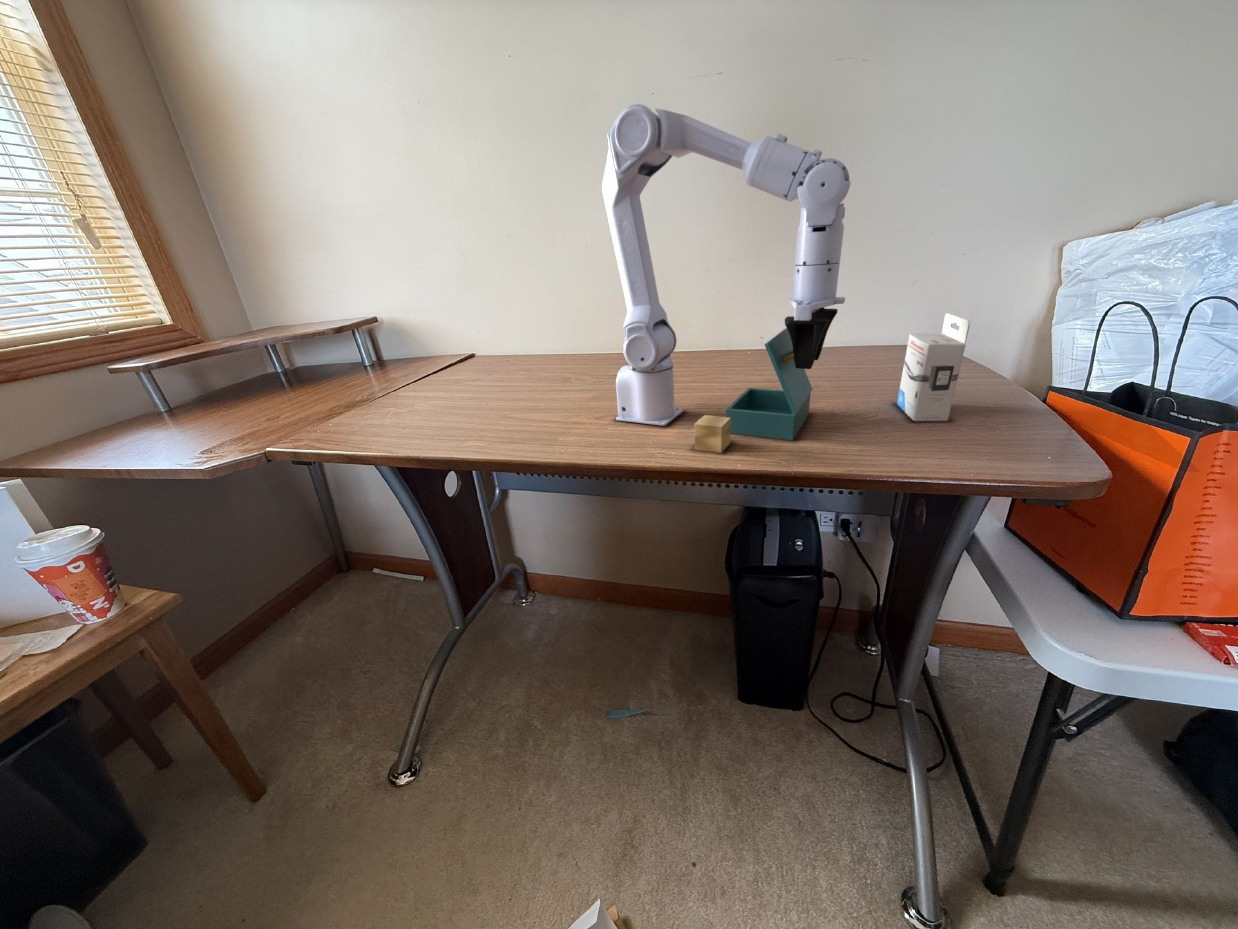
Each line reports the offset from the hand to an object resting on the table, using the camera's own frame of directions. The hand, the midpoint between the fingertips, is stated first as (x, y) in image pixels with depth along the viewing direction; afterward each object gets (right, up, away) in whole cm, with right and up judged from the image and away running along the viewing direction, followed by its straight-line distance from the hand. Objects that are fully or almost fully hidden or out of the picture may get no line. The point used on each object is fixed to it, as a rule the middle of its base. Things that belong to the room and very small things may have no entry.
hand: (807, 363), depth 70 cm
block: (-14, -12, 0) cm, 19 cm away
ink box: (+20, -7, +6) cm, 22 cm away
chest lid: (-2, -1, +2) cm, 3 cm away
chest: (-4, -8, +7) cm, 11 cm away
